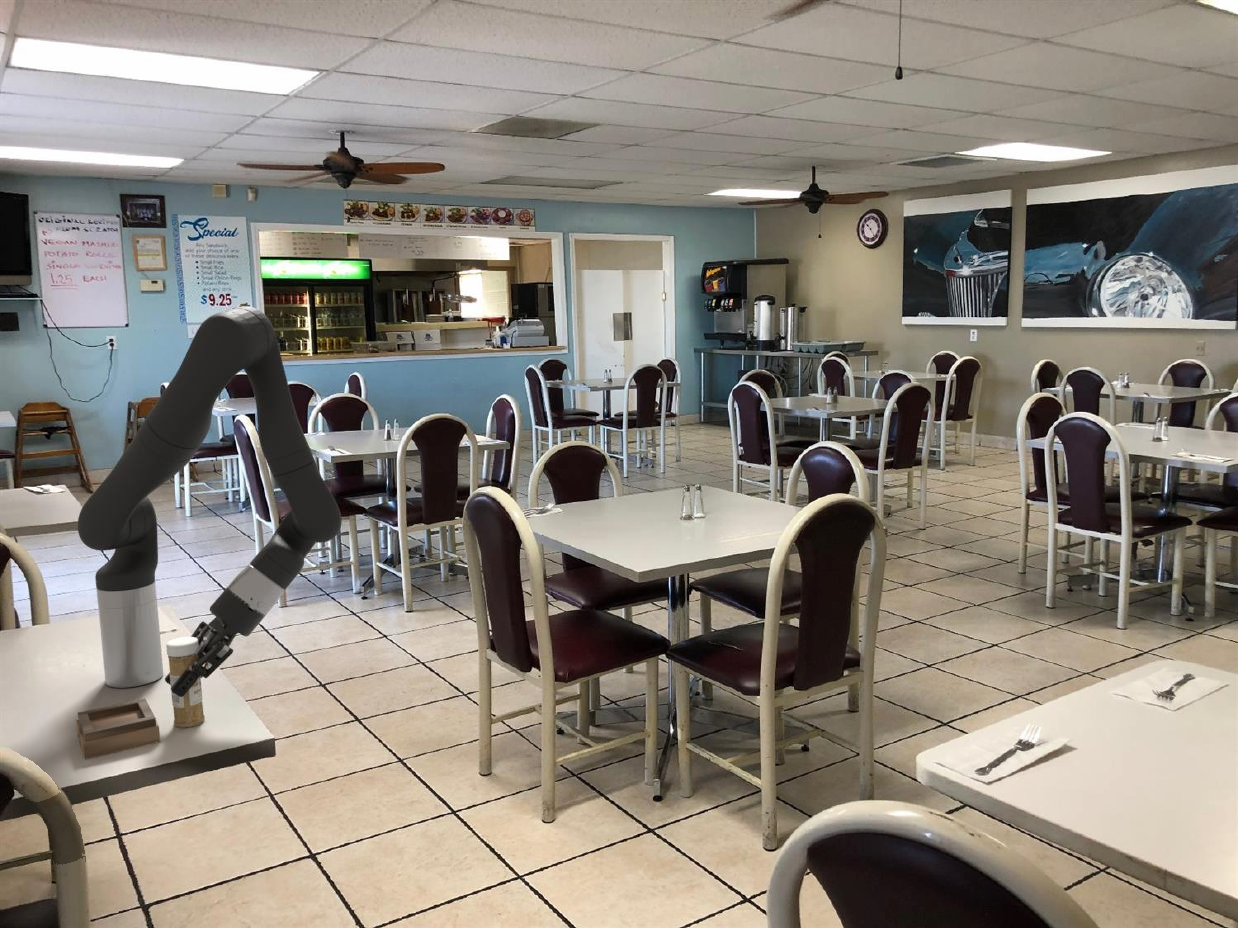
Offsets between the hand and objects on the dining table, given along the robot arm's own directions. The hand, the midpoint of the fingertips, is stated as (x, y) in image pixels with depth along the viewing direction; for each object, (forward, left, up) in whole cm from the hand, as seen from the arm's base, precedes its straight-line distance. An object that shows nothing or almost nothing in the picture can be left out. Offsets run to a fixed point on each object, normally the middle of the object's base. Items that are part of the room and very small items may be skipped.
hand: (173, 688), depth 152 cm
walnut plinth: (0, -8, -6) cm, 10 cm away
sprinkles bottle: (0, +2, -6) cm, 7 cm away
